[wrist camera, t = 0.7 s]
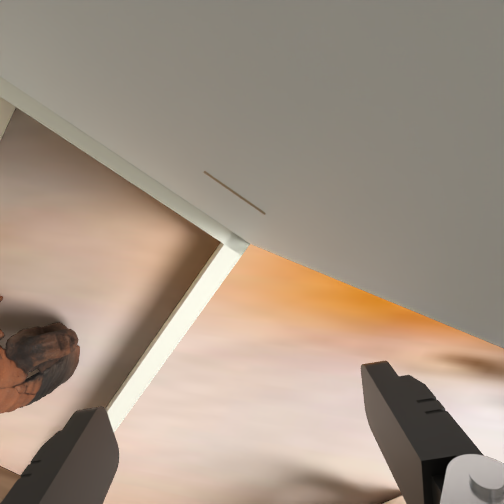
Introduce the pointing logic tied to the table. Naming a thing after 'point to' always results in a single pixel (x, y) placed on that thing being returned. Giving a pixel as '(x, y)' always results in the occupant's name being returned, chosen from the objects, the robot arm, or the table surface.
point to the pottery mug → (36, 363)
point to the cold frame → (289, 137)
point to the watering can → (396, 501)
